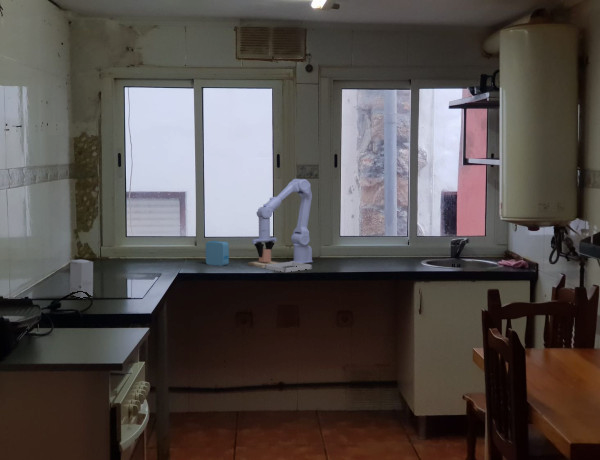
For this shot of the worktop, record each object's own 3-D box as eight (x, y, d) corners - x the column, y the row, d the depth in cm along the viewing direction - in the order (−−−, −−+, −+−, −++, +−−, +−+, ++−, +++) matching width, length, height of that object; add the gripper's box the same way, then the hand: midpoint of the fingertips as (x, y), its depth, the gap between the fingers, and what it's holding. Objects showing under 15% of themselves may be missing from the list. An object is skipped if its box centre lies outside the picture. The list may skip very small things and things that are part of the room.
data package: (229, 265, 399) (228, 242, 398) (223, 266, 395) (223, 243, 394) (211, 263, 406) (211, 240, 404) (205, 264, 402) (205, 241, 401)
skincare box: (69, 296, 313) (68, 260, 311) (82, 294, 317) (81, 258, 316) (81, 299, 307) (80, 262, 306) (94, 297, 312) (93, 260, 310)
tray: (292, 265, 398) (292, 261, 398) (311, 268, 386) (311, 264, 386) (265, 268, 386) (265, 264, 386) (284, 272, 375) (284, 268, 374)
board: (266, 263, 406) (266, 260, 406) (280, 265, 397) (280, 262, 397) (248, 265, 398) (248, 262, 398) (262, 267, 389) (262, 264, 389)
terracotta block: (265, 260, 400) (265, 248, 400) (271, 261, 397) (271, 249, 396) (258, 260, 397) (258, 249, 397) (264, 262, 394) (264, 250, 393)
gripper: (270, 228, 404) (270, 254, 405) (248, 230, 394) (248, 256, 396) (279, 229, 398) (279, 255, 400) (256, 231, 389) (256, 258, 390)
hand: (264, 256), depth 397 cm, fingers closed on terracotta block, 4 cm apart
